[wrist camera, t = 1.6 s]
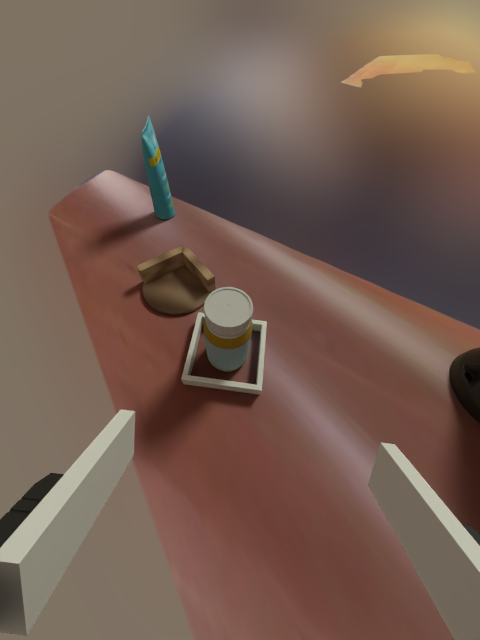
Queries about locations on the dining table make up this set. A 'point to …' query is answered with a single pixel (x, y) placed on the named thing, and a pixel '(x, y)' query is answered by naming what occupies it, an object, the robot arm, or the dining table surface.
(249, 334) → the bottle
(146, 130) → the tube
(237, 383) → the grey frame
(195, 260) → the v block
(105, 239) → the dining table surface
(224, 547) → the dining table surface
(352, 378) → the dining table surface
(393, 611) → the dining table surface
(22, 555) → the robot arm
